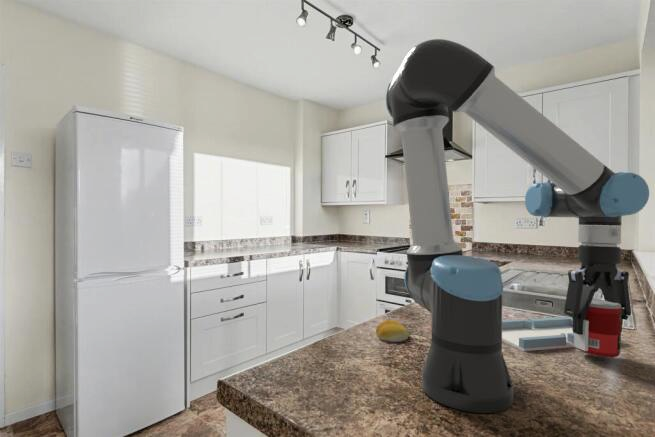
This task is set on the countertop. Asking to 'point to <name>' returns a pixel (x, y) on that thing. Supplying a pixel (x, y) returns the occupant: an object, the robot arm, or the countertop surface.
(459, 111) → the robot arm
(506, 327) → the track
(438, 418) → the countertop surface
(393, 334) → the bread roll
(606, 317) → the canned food
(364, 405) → the countertop surface
